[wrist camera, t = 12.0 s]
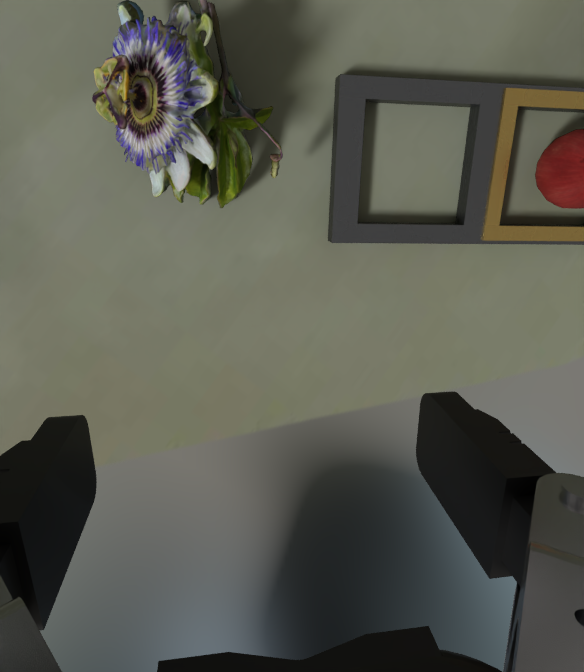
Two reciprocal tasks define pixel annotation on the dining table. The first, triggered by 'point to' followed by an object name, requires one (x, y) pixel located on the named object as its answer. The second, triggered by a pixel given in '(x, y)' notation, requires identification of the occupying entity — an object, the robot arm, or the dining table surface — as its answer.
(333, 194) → the grey yellow flat frame
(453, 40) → the dining table surface
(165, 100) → the passion flower
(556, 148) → the onion
